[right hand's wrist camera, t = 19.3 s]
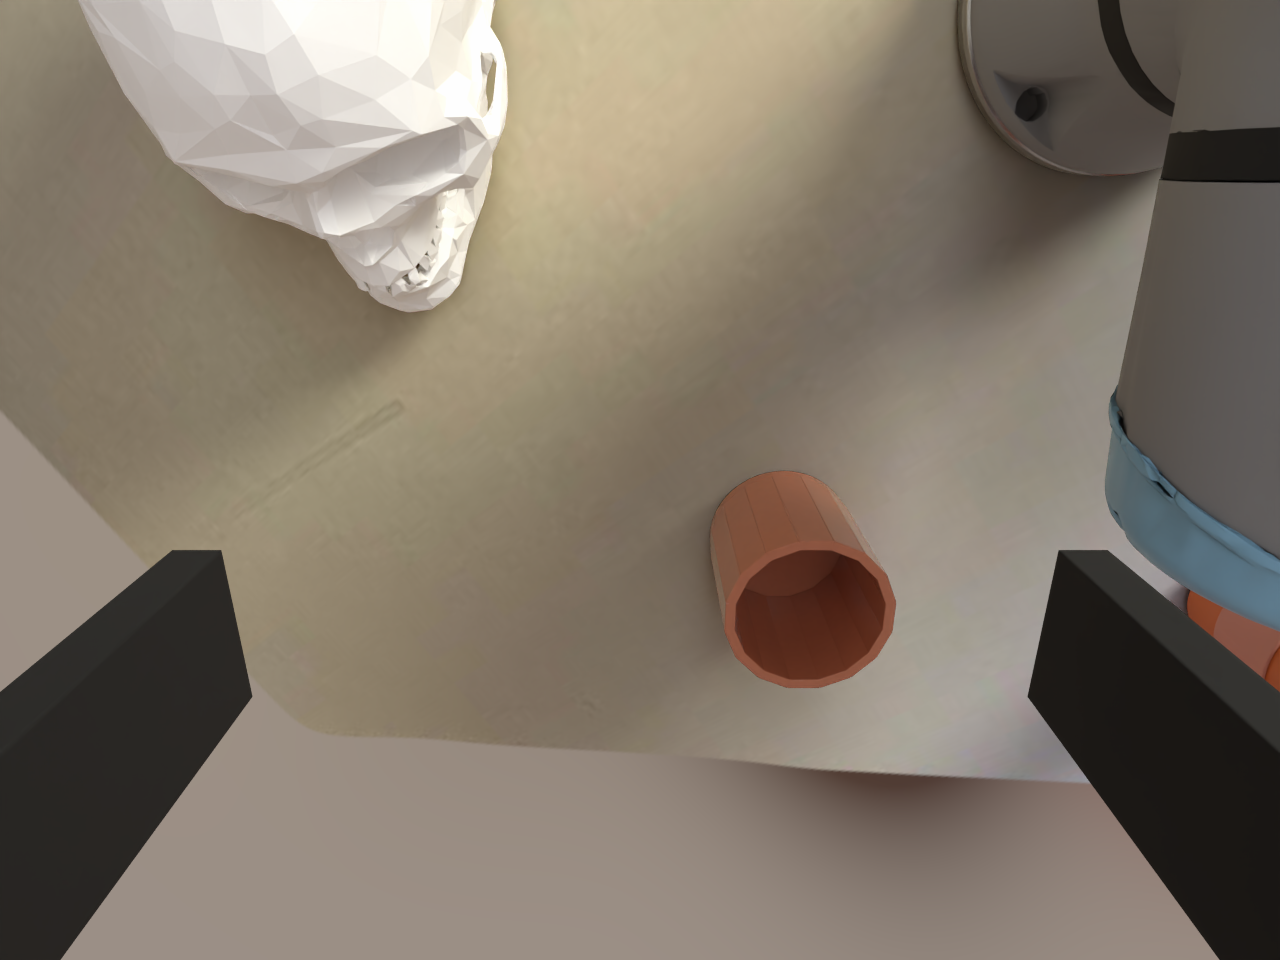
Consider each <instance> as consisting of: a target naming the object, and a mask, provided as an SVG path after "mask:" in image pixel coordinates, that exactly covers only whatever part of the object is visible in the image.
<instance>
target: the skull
mask: <svg viewBox="0 0 1280 960" xmlns="http://www.w3.org/2000/svg"><path fill="white" fill-rule="evenodd" d="M78 2H79V4H80V6H81V9H82V11H83V13H84V16H85V18H86V20H87V22H88V25H89V27H90V29H91V31H92V33H93V35H94V37H95V39H96V41H97V43H98V44H99V46H100V48H101V50H102V52H103V54H104V56H105V58H106V60H107V62H108V64H109V66H110V67H111V69H112V71H113V73H114V75H115V77H116V79H117V81H118V83H119V85H120V87H121V89H122V90H123V92H124V94H125V95H126V97H127V98H128V100H129V101H130V102H131V104H132V105H133V107H134V108H135V109H136V111H137V112H138V113H139V115H140V116H141V118H142V119H143V120H144V122H145V123H146V124H147V126H148V127H149V129H150V130H151V131H152V133H153V134H154V136H155V137H156V138H157V140H158V141H159V142H160V144H161V146H162V148H163V150H164V152H165V155H166V156H167V157H168V158H169V159H171V160H172V161H173V162H174V164H175V165H178V166H180V167H181V168H182V169H184V170H185V171H186V172H187V173H189V174H190V175H191V176H193V177H194V178H195V179H197V180H198V181H199V182H201V183H202V184H203V185H204V186H205V187H206V188H207V189H208V190H210V191H211V192H212V193H213V194H214V195H215V196H216V197H218V198H219V199H220V200H221V201H222V202H223V203H224V204H226V205H228V206H230V207H233V208H235V209H237V210H240V211H242V212H244V213H246V214H249V213H255V214H257V215H260V216H263V217H266V218H269V219H272V220H276V221H279V222H283V223H286V224H289V225H291V226H294V227H296V228H298V229H300V230H302V231H305V232H307V233H309V234H311V235H314V236H317V237H319V238H321V239H324V240H327V242H328V244H329V246H330V247H331V249H332V251H333V253H334V254H335V256H336V258H337V259H338V261H339V262H340V263H341V265H342V266H343V268H344V269H345V270H346V272H347V273H348V274H349V275H350V276H351V277H352V278H353V280H354V281H355V282H356V284H357V287H358V288H359V289H361V290H363V291H368V292H369V294H370V295H371V296H372V297H373V298H374V299H376V300H377V301H378V302H379V303H381V304H384V305H387V306H389V307H392V308H395V309H397V310H400V311H404V312H408V313H410V312H417V311H425V310H432V309H433V308H434V307H436V306H437V305H438V304H440V303H441V302H443V301H444V300H445V299H447V298H448V297H449V296H450V295H451V294H452V293H453V291H454V290H455V289H456V288H457V287H458V286H459V284H460V282H461V277H462V273H463V268H464V263H465V259H466V254H467V249H468V244H469V241H470V238H471V236H472V233H473V230H474V227H475V225H476V222H477V219H478V217H479V214H480V211H481V209H482V206H483V203H484V200H485V196H486V192H487V188H488V184H489V180H490V176H491V170H492V154H493V152H494V150H495V148H496V147H497V144H498V142H499V139H500V137H501V134H502V132H503V129H504V126H505V119H506V112H507V105H508V96H507V67H506V62H505V58H504V53H503V49H502V47H501V44H500V42H499V41H498V39H497V37H496V36H495V34H494V32H493V31H492V29H491V27H490V25H491V17H492V13H493V10H494V6H495V3H496V0H78ZM493 59H494V61H495V63H496V64H497V68H496V78H495V87H494V96H493V102H492V104H491V106H490V109H489V111H488V101H487V96H486V84H487V76H488V73H489V70H490V68H491V65H492V63H493ZM425 253H427V255H425ZM418 263H419V264H420V266H419V268H418V269H416V265H417V264H418ZM407 273H408V276H405V275H406V274H407ZM403 276H405V277H403Z"/></svg>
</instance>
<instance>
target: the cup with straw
mask: <svg viewBox="0 0 1280 960" xmlns="http://www.w3.org/2000/svg"><path fill="white" fill-rule="evenodd" d="M1187 612H1188V616H1189V618H1190V619H1192V620H1193V621H1194V622H1195V623H1197V624H1198V625H1199V626H1200V627H1201V628H1203V629H1204V630H1205V631H1206V632H1207V633H1209V634H1210V635H1211V636H1212V637H1214V638H1215V639H1216V640H1217V641H1218V642H1220V643H1221V644H1222V645H1223V646H1225V647H1226V648H1227V649H1228V650H1229V651H1231V652H1232V653H1233V654H1234V655H1235V656H1237V657H1238V658H1239V659H1240V660H1242V661H1243V662H1244V663H1245V664H1246V665H1248V666H1249V667H1250V668H1251V669H1252V670H1254V671H1255V672H1256V673H1257V674H1259V675H1260V676H1261V677H1262V678H1263V679H1265V680H1266V681H1267V682H1268V683H1269V684H1271V685H1272V686H1273V687H1274V688H1276V689H1277V690H1278V691H1279V692H1280V632H1279V631H1276V630H1274V629H1272V628H1269V627H1267V626H1264V625H1261V624H1259V623H1256V622H1254V621H1251V620H1249V619H1246V618H1244V617H1242V616H1240V615H1238V614H1236V613H1234V612H1232V611H1230V610H1227V609H1225V608H1223V607H1221V606H1219V605H1217V604H1215V603H1213V602H1211V601H1209V600H1208V599H1206V598H1204V597H1202V596H1200V595H1198V594H1196V593H1195V592H1193V591H1191V590H1190V593H1189V596H1188V601H1187Z"/></svg>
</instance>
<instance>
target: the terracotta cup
mask: <svg viewBox="0 0 1280 960" xmlns="http://www.w3.org/2000/svg"><path fill="white" fill-rule="evenodd" d="M710 547H711V551H710V554H711V560H712V565H713V571H714V576H715V582H716V587H717V593H718V598H719V604H720V609H721V615H722V620H723V626H724V631H725V634H726V636H727V639H728V641H729V643H730V646H731V648H732V650H733V652H734V655H735V657H736V658H737V659H738V660H739V661H740V662H741V663H742V664H743V665H745V666H746V667H747V668H748V669H749V670H750V671H751V672H753V673H754V674H755V675H756V676H757V677H759V678H761V679H764V680H767V681H769V682H772V683H775V684H778V685H781V686H783V687H786V688H787V687H788V688H819V687H824V686H827V685H830V684H833V683H836V682H839V681H842V680H845V679H848V678H850V677H852V676H853V675H855V674H856V673H857V672H858V671H860V670H861V669H862V668H864V667H865V666H866V665H868V664H869V663H870V662H871V661H873V660H874V659H875V658H876V657H877V656H878V654H879V653H880V651H881V649H882V648H883V646H884V644H885V643H886V641H887V639H888V638H889V636H890V635H891V633H892V630H893V623H894V615H895V608H896V600H895V597H894V594H893V591H892V588H891V585H890V582H889V579H888V576H887V574H886V573H885V571H884V569H883V568H882V566H881V564H880V563H879V561H878V559H877V558H876V556H875V554H874V553H873V551H872V549H871V548H870V546H869V544H868V543H867V541H866V539H865V538H864V536H863V534H862V533H861V531H860V530H859V528H858V526H857V525H856V523H855V521H854V520H853V518H852V516H851V515H850V513H849V511H848V510H847V508H846V506H845V505H844V504H843V503H842V502H841V501H840V499H839V498H838V496H837V495H836V494H835V493H834V491H833V490H832V489H830V488H829V487H828V486H827V485H826V484H824V483H823V482H821V481H820V480H818V479H816V478H814V477H812V476H809V475H806V474H803V473H798V472H792V471H776V472H769V473H764V474H761V475H758V476H755V477H753V478H751V479H748V480H747V481H745V482H743V483H742V484H740V485H738V486H737V487H736V488H735V489H733V490H732V491H731V492H730V493H729V494H728V495H727V496H726V497H725V498H724V500H723V501H722V502H721V504H720V505H719V507H718V509H717V511H716V513H715V515H714V517H713V520H712V524H711V528H710Z"/></svg>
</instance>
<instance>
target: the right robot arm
mask: <svg viewBox="0 0 1280 960" xmlns="http://www.w3.org/2000/svg"><path fill="white" fill-rule="evenodd" d="M958 40H959V50H960V56H961V61H962V66H963V70H964V73H965V77H966V80H967V84H968V86H969V89H970V91H971V94H972V96H973V98H974V100H975V102H976V104H977V106H978V108H979V110H980V112H981V113H982V115H983V116H984V118H985V119H986V121H987V122H988V124H989V125H990V126H991V127H992V129H993V130H994V131H995V132H996V133H997V134H998V135H999V137H1000V138H1001V139H1003V140H1004V141H1005V142H1006V143H1007V144H1008V145H1009V146H1010V147H1011V148H1013V149H1014V150H1016V151H1017V152H1018V153H1020V154H1021V155H1023V156H1024V157H1026V158H1028V159H1030V160H1031V161H1033V162H1035V163H1037V164H1040V165H1042V166H1045V167H1047V168H1050V169H1053V170H1057V171H1060V172H1064V173H1070V174H1076V175H1091V176H1118V175H1129V174H1135V173H1141V172H1145V171H1149V170H1153V169H1157V168H1160V167H1163V170H1162V175H1161V178H1162V179H1159V184H1158V190H1157V195H1156V200H1155V205H1154V211H1153V216H1152V221H1151V226H1150V231H1149V237H1148V242H1147V247H1146V252H1145V258H1144V263H1143V268H1142V273H1141V278H1140V283H1139V288H1138V292H1137V297H1136V302H1135V307H1134V311H1133V316H1132V321H1131V326H1130V330H1129V335H1128V340H1127V345H1126V350H1125V354H1124V359H1123V364H1122V369H1121V373H1120V378H1119V383H1118V385H1117V387H1116V389H1115V391H1114V393H1113V395H1112V396H1111V399H1110V403H1109V419H1110V425H1111V427H1112V434H1111V441H1110V448H1109V455H1108V463H1107V470H1106V477H1105V494H1106V499H1107V503H1108V507H1109V509H1110V512H1111V514H1112V516H1113V517H1114V519H1115V520H1116V522H1117V523H1118V525H1119V526H1120V527H1121V528H1122V529H1123V530H1124V531H1125V534H1126V537H1127V539H1128V540H1129V541H1130V543H1131V544H1132V545H1133V546H1134V547H1135V548H1136V549H1137V550H1138V551H1139V552H1140V553H1141V554H1142V555H1143V556H1144V557H1145V558H1146V559H1148V560H1149V561H1150V562H1151V563H1152V564H1153V565H1155V566H1156V567H1157V568H1158V569H1160V570H1161V571H1162V572H1164V573H1165V574H1167V575H1168V576H1169V577H1171V578H1172V579H1174V580H1175V581H1177V582H1178V583H1180V584H1181V585H1183V586H1185V587H1186V588H1188V589H1190V590H1191V591H1193V592H1195V593H1196V594H1198V595H1200V596H1202V597H1204V598H1206V599H1208V600H1209V601H1211V602H1213V603H1215V604H1217V605H1219V606H1221V607H1223V608H1225V609H1227V610H1230V611H1232V612H1234V613H1236V614H1238V615H1240V616H1242V617H1244V618H1246V619H1249V620H1251V621H1254V622H1256V623H1259V624H1261V625H1264V626H1267V627H1269V628H1272V629H1274V630H1276V631H1279V632H1280V0H959V4H958ZM251 698H252V693H251V688H250V683H249V679H248V674H247V669H246V664H245V660H244V655H243V650H242V646H241V641H240V636H239V631H238V627H237V622H236V617H235V613H234V608H233V603H232V599H231V594H230V589H229V584H228V580H227V575H226V570H225V566H224V561H223V556H222V552H221V550H172V551H171V552H170V553H168V554H167V555H166V556H165V557H164V558H162V559H161V560H160V561H159V562H158V563H156V564H155V565H154V566H153V567H151V568H150V569H149V570H148V571H147V572H145V573H144V574H143V575H142V576H141V577H139V578H138V579H137V580H136V581H135V582H133V583H132V584H131V585H130V586H128V587H127V588H126V589H125V590H124V591H122V592H121V593H120V594H119V595H117V596H116V597H115V598H114V599H113V600H111V601H110V602H109V603H108V604H107V605H105V606H104V607H103V608H102V609H100V610H99V611H98V612H97V613H96V614H94V615H93V616H92V617H91V618H90V619H88V620H87V621H86V622H85V623H83V624H82V625H81V626H80V627H79V628H77V629H76V630H75V631H74V632H73V633H71V634H70V635H69V636H68V637H66V638H65V639H64V640H63V641H62V642H60V643H59V644H58V645H57V646H56V647H54V648H53V649H52V650H51V651H49V652H48V653H47V654H46V655H45V656H43V657H42V658H41V659H40V660H39V661H37V662H36V663H35V664H34V665H32V666H31V667H30V668H29V669H28V670H26V671H25V672H24V673H23V674H21V675H20V676H19V677H18V678H17V679H15V680H14V681H13V682H12V683H11V684H9V685H8V686H7V687H6V688H5V689H3V690H2V691H1V692H0V960H61V958H62V957H63V956H64V954H65V953H66V951H67V950H68V949H69V947H70V946H71V945H72V943H73V942H74V940H75V939H76V938H77V936H78V935H79V934H80V932H81V931H82V929H83V928H84V927H85V925H86V924H87V923H88V921H89V920H90V919H91V917H92V916H93V914H94V913H95V912H96V910H97V909H98V908H99V906H100V905H101V903H102V902H103V901H104V899H105V898H106V897H107V895H108V894H109V892H110V891H111V890H112V888H113V887H114V886H115V884H116V883H117V881H118V880H119V879H120V877H121V876H122V875H123V873H124V872H125V870H126V869H127V868H128V866H129V865H130V864H131V862H132V861H133V860H134V858H135V857H136V855H137V854H138V853H139V851H140V850H141V849H142V847H143V846H144V844H145V843H146V842H147V840H148V839H149V838H150V836H151V835H152V834H153V832H154V831H155V829H156V828H157V827H158V825H159V824H160V823H161V821H162V820H163V818H164V817H165V816H166V814H167V813H168V812H169V810H170V809H171V807H172V806H173V805H174V803H175V802H176V801H177V799H178V798H179V796H180V795H181V794H182V792H183V791H184V790H185V788H186V787H187V786H188V784H189V783H190V781H191V780H192V779H193V777H194V776H195V774H196V773H197V772H198V770H199V769H200V768H201V766H202V765H203V764H204V762H205V761H206V759H207V758H208V757H209V755H210V754H211V753H212V751H213V750H214V748H215V747H216V746H217V744H218V743H219V742H220V740H221V739H222V737H223V736H224V735H225V733H226V732H227V731H228V729H229V728H230V727H231V725H232V724H233V722H234V721H235V720H236V718H237V717H238V716H239V714H240V713H241V712H242V710H243V709H244V707H245V706H246V705H247V703H248V702H249V701H250V699H251ZM1028 698H1029V699H1030V701H1031V702H1032V703H1033V705H1034V706H1035V707H1036V709H1037V710H1038V712H1039V713H1040V714H1041V716H1042V717H1043V718H1044V720H1045V721H1046V722H1047V724H1048V725H1049V727H1050V728H1051V729H1052V731H1053V732H1054V733H1055V735H1056V736H1057V738H1058V739H1059V740H1060V742H1061V743H1062V744H1063V746H1064V747H1065V749H1066V750H1067V751H1068V753H1069V754H1070V755H1071V757H1072V758H1073V760H1074V761H1075V762H1076V764H1077V765H1078V766H1079V768H1080V769H1081V770H1082V772H1083V773H1084V775H1085V776H1086V777H1087V779H1088V780H1089V781H1090V783H1091V784H1092V786H1093V787H1094V788H1095V790H1096V791H1097V792H1098V794H1099V795H1100V796H1101V798H1102V799H1103V801H1104V802H1105V803H1106V805H1107V806H1108V807H1109V809H1110V810H1111V812H1112V813H1113V814H1114V816H1115V817H1116V818H1117V820H1118V821H1119V823H1120V824H1121V825H1122V827H1123V828H1124V829H1125V831H1126V832H1127V834H1128V835H1129V836H1130V838H1131V839H1132V840H1133V842H1134V843H1135V844H1136V846H1137V847H1138V848H1139V850H1140V851H1141V853H1142V854H1143V855H1144V857H1145V858H1146V860H1147V861H1148V862H1149V864H1150V865H1151V866H1152V868H1153V869H1154V871H1155V872H1156V873H1157V874H1158V876H1159V877H1160V879H1161V880H1162V882H1163V883H1164V884H1165V886H1166V887H1167V888H1168V890H1169V891H1170V892H1171V894H1172V895H1173V897H1174V898H1175V899H1176V901H1177V902H1178V903H1179V905H1180V906H1181V907H1182V909H1183V910H1184V912H1185V913H1186V914H1187V916H1188V917H1189V919H1190V920H1191V921H1192V923H1193V924H1194V925H1195V927H1196V928H1197V929H1198V931H1199V932H1200V934H1201V935H1202V936H1203V938H1204V939H1205V940H1206V942H1207V943H1208V944H1209V946H1210V947H1211V949H1212V950H1213V951H1214V953H1215V954H1216V956H1217V957H1218V958H1219V960H1280V692H1279V691H1278V690H1277V689H1276V688H1274V687H1273V686H1272V685H1271V684H1269V683H1268V682H1267V681H1266V680H1265V679H1263V678H1262V677H1261V676H1260V675H1259V674H1257V673H1256V672H1255V671H1254V670H1252V669H1251V668H1250V667H1249V666H1248V665H1246V664H1245V663H1244V662H1243V661H1242V660H1240V659H1239V658H1238V657H1237V656H1235V655H1234V654H1233V653H1232V652H1231V651H1229V650H1228V649H1227V648H1226V647H1225V646H1223V645H1222V644H1221V643H1220V642H1218V641H1217V640H1216V639H1215V638H1214V637H1212V636H1211V635H1210V634H1209V633H1207V632H1206V631H1205V630H1204V629H1203V628H1201V627H1200V626H1199V625H1198V624H1197V623H1195V622H1194V621H1193V620H1192V619H1190V618H1189V617H1188V616H1187V615H1186V614H1184V613H1183V612H1182V611H1181V610H1180V609H1178V608H1177V607H1176V606H1175V605H1173V604H1172V603H1171V602H1170V601H1169V600H1167V599H1166V598H1165V597H1164V596H1163V595H1161V594H1160V593H1159V592H1158V591H1156V590H1155V589H1154V588H1153V587H1152V586H1150V585H1149V584H1148V583H1147V582H1146V581H1144V580H1143V579H1142V578H1141V577H1139V576H1138V575H1137V574H1136V573H1135V572H1133V571H1132V570H1131V569H1130V568H1129V567H1127V566H1126V565H1125V564H1124V563H1122V562H1121V561H1120V560H1119V559H1118V558H1116V557H1115V556H1114V555H1113V554H1112V553H1110V552H1109V551H1108V550H1059V552H1058V556H1057V561H1056V566H1055V570H1054V575H1053V580H1052V584H1051V589H1050V594H1049V599H1048V603H1047V608H1046V613H1045V617H1044V622H1043V627H1042V631H1041V636H1040V641H1039V646H1038V650H1037V655H1036V660H1035V664H1034V669H1033V674H1032V678H1031V683H1030V688H1029V693H1028Z"/></svg>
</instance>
